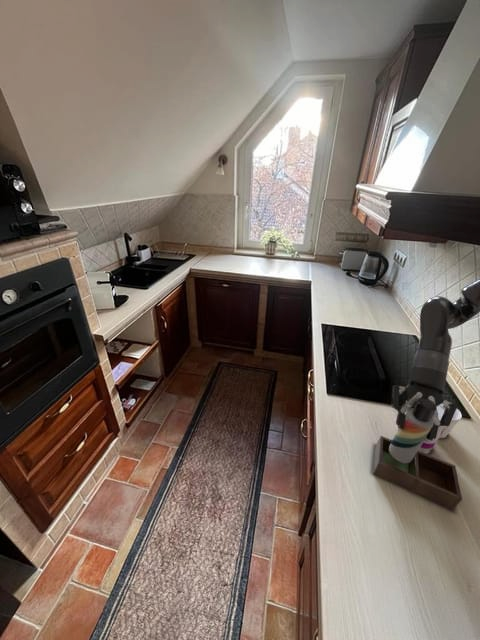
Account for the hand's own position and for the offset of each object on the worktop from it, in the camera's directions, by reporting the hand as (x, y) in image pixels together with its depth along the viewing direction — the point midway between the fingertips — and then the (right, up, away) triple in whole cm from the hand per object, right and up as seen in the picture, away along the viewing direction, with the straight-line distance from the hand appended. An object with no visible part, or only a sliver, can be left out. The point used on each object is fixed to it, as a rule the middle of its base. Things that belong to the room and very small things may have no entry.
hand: (414, 433), depth 63 cm
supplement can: (+12, -11, +17) cm, 24 cm away
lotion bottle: (+1, -9, +7) cm, 11 cm away
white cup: (+21, -9, +22) cm, 32 cm away
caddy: (+4, -16, +8) cm, 18 cm away
